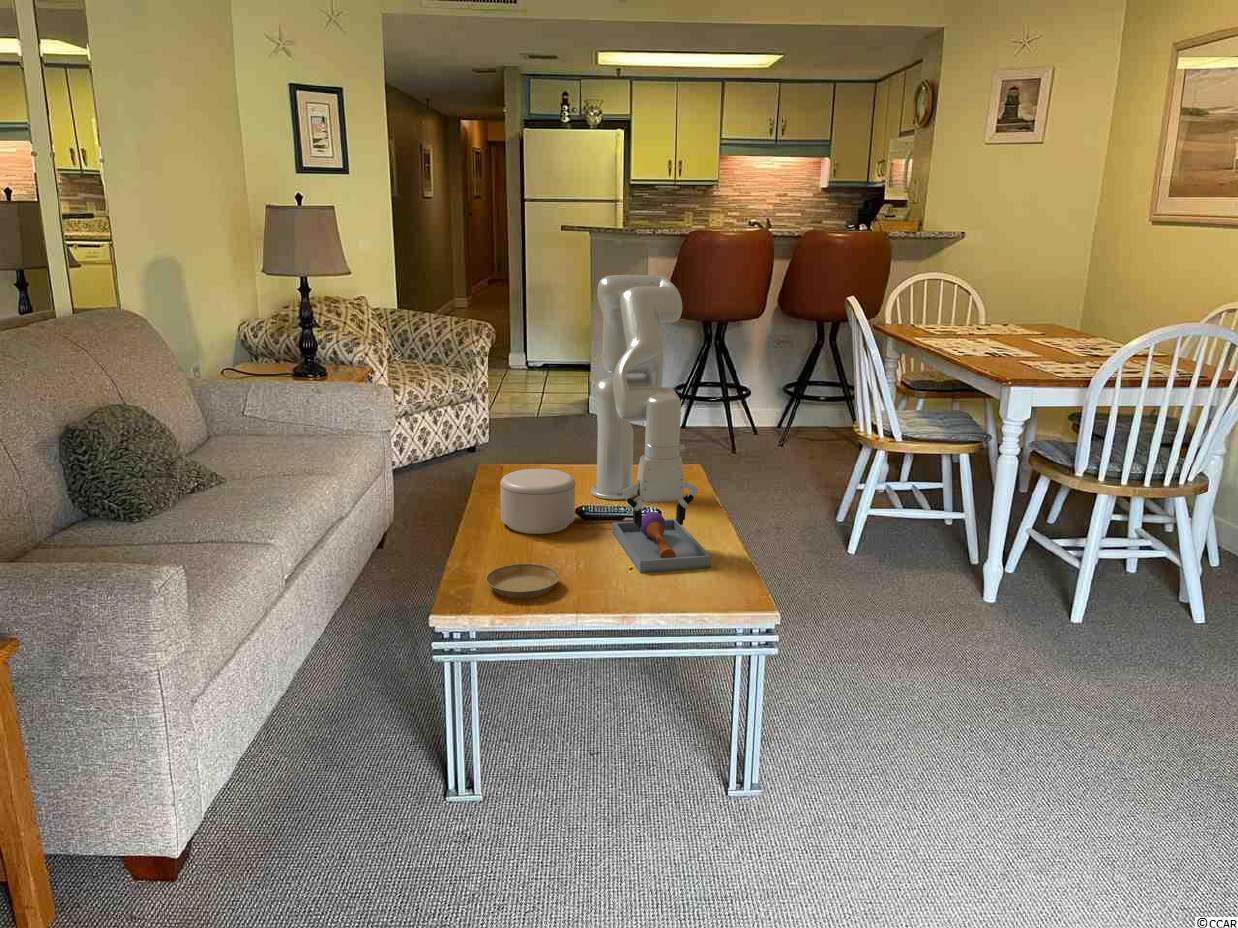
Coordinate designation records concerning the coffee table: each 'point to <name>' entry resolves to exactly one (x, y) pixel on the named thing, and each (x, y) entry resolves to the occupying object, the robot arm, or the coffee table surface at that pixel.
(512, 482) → the container
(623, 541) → the tray
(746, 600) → the coffee table surface
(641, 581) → the coffee table surface
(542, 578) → the plant saucer
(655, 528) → the kendama
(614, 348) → the robot arm
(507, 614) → the coffee table surface
